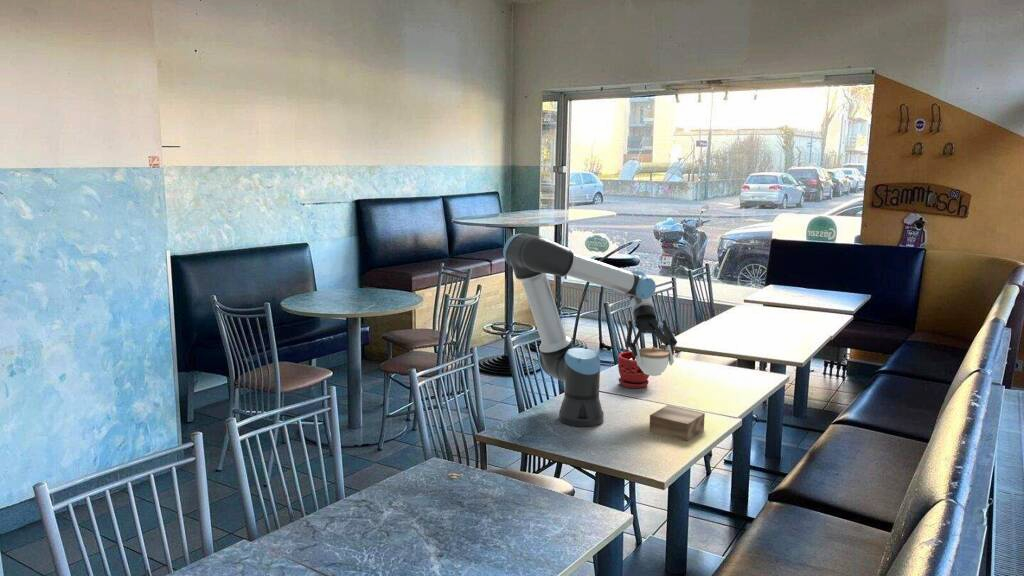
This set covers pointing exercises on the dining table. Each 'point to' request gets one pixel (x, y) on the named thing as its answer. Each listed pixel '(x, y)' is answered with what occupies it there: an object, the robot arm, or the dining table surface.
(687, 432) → the walnut block
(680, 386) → the dining table surface
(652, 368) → the lidded jar
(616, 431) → the dining table surface
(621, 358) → the plant pot
